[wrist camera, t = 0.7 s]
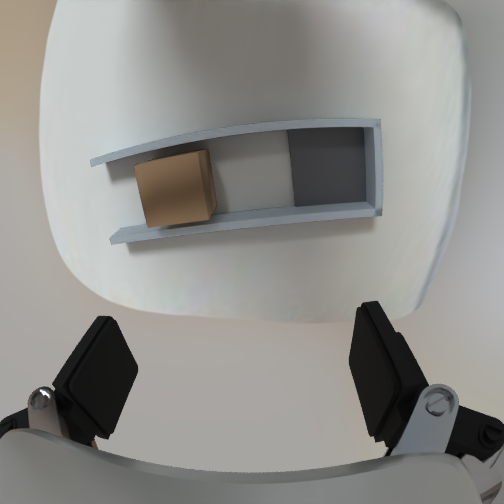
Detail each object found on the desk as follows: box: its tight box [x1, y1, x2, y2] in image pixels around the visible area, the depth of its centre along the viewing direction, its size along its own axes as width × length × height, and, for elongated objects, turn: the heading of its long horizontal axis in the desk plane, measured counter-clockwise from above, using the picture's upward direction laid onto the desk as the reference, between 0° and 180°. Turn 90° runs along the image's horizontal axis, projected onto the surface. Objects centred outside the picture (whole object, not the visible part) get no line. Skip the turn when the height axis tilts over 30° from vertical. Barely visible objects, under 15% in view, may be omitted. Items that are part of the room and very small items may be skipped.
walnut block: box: [134, 149, 217, 228], centre depth 25 cm, size 6×6×5 cm
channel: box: [90, 118, 383, 245], centre depth 25 cm, size 10×29×3 cm, turn 97°
